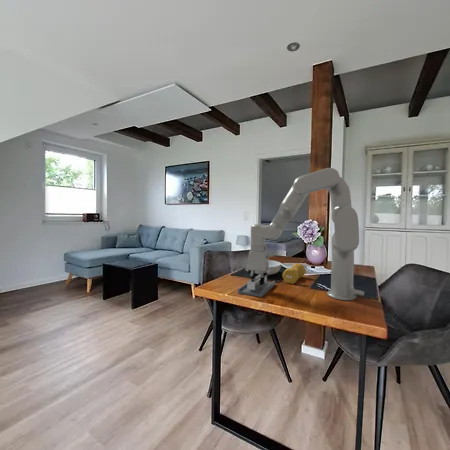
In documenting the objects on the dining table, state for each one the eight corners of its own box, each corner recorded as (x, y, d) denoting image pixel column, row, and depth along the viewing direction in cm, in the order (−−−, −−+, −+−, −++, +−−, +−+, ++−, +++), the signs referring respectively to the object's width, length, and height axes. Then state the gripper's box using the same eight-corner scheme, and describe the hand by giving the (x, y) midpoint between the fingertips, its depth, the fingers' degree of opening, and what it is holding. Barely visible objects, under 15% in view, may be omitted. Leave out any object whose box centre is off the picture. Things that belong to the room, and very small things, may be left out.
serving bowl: (241, 271, 167) (241, 261, 167) (267, 268, 177) (267, 258, 177) (260, 279, 149) (260, 268, 149) (288, 275, 159) (288, 264, 158)
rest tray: (274, 284, 138) (275, 280, 138) (261, 297, 119) (261, 292, 119) (254, 281, 144) (254, 278, 144) (238, 293, 124) (238, 288, 124)
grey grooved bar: (254, 289, 122) (255, 280, 122) (247, 288, 124) (247, 279, 123) (266, 280, 138) (266, 272, 138) (259, 279, 140) (259, 271, 139)
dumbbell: (292, 275, 159) (292, 262, 158) (306, 277, 154) (307, 264, 153) (281, 282, 143) (281, 268, 142) (297, 285, 138) (297, 270, 137)
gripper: (276, 248, 130) (275, 284, 131) (245, 246, 137) (245, 280, 138) (271, 250, 123) (271, 288, 124) (240, 248, 131) (239, 283, 132)
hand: (257, 283), depth 131 cm, fingers closed on grey grooved bar, 3 cm apart
